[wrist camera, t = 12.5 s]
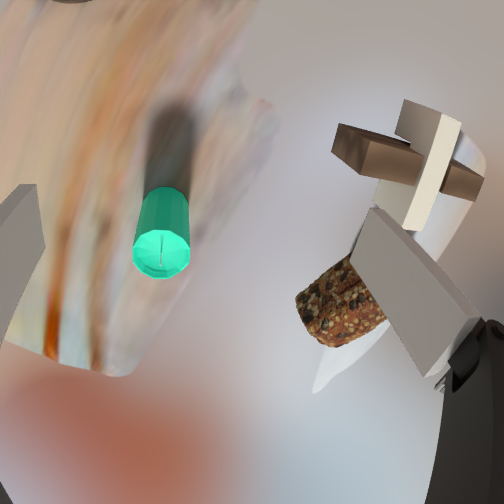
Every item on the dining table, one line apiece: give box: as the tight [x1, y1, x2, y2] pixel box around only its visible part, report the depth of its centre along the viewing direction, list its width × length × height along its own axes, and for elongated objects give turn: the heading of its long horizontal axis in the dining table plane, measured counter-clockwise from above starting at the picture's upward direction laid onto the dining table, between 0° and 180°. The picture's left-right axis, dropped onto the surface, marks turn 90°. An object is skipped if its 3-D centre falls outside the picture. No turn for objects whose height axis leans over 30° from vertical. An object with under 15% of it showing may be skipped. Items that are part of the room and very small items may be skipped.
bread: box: [295, 251, 387, 348], centre depth 49 cm, size 19×11×10 cm, turn 130°
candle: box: [133, 187, 190, 279], centre depth 35 cm, size 6×6×12 cm
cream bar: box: [373, 99, 462, 232], centre depth 38 cm, size 16×4×8 cm, turn 170°
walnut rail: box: [331, 123, 484, 202], centre depth 38 cm, size 4×22×8 cm, turn 80°
